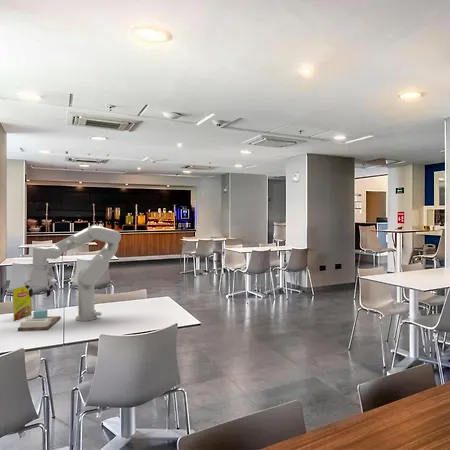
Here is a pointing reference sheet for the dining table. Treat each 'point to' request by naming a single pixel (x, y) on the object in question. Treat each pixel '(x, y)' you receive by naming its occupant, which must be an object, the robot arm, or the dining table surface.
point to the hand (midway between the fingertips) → (39, 296)
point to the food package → (21, 303)
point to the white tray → (35, 322)
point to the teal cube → (40, 314)
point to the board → (53, 321)
